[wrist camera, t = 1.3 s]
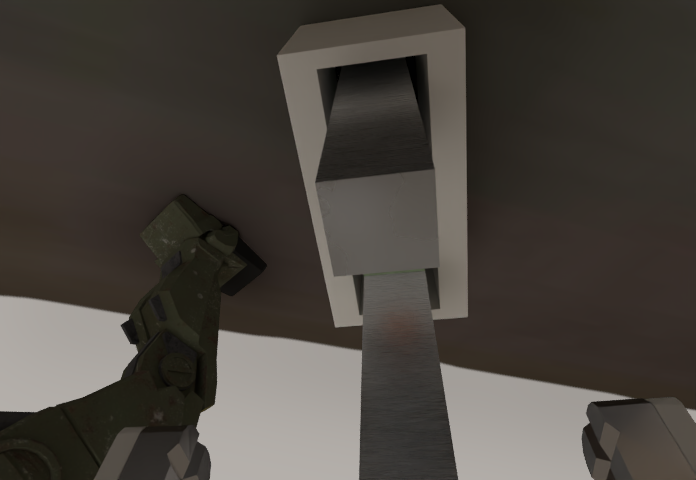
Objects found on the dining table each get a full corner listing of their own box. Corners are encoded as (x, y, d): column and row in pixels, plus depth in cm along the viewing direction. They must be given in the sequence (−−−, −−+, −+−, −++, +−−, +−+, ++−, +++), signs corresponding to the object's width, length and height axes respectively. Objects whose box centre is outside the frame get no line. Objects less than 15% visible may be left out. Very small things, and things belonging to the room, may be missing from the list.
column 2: (364, 245, 34) (355, 616, 15) (420, 240, 33) (480, 615, 15) (371, 293, 36) (371, 663, 18) (424, 289, 36) (479, 664, 17)
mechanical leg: (301, 287, 46) (78, 644, 19) (253, 323, 48) (-1, 676, 21) (202, 180, 43) (-217, 406, 16) (158, 224, 46) (-261, 479, 19)
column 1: (345, 49, 34) (314, 182, 16) (400, 41, 34) (435, 168, 15) (353, 109, 37) (335, 286, 18) (405, 103, 36) (440, 277, 18)
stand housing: (300, 25, 34) (274, 57, 25) (441, 4, 32) (467, 29, 24) (342, 253, 44) (334, 332, 35) (449, 243, 43) (469, 322, 34)
